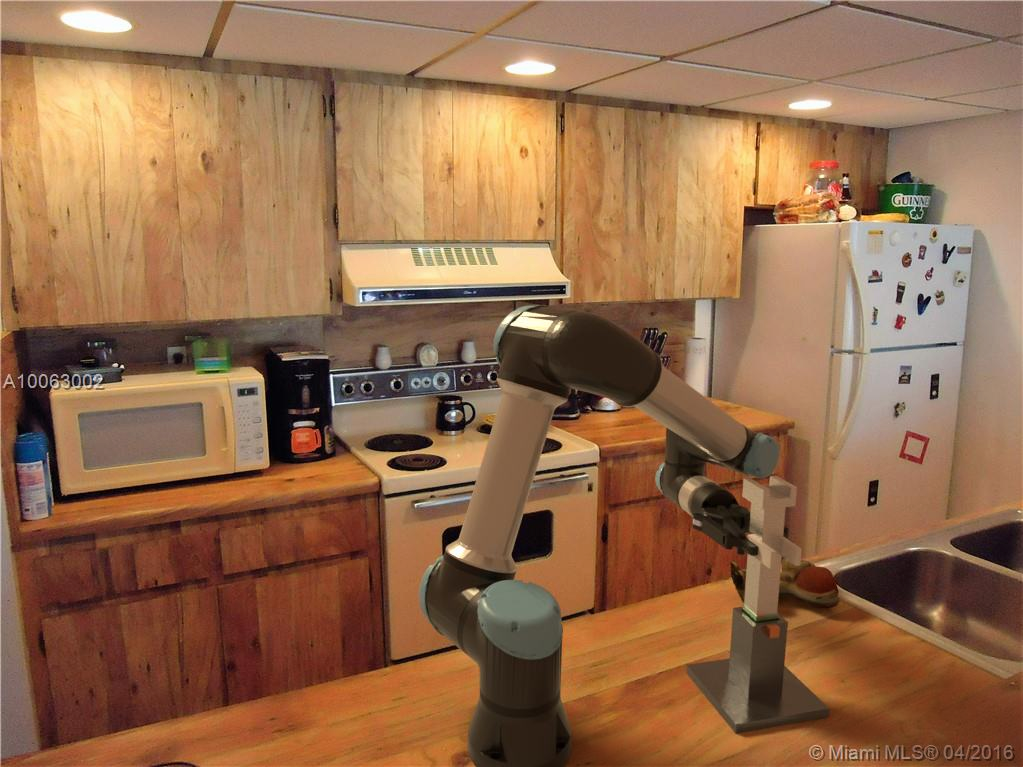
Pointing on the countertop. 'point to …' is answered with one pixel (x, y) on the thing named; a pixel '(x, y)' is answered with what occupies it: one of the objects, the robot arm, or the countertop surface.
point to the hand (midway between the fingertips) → (785, 558)
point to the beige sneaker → (798, 583)
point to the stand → (756, 679)
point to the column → (769, 530)
